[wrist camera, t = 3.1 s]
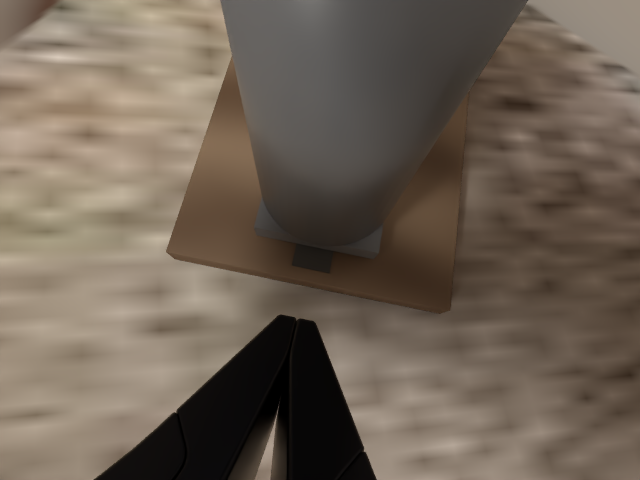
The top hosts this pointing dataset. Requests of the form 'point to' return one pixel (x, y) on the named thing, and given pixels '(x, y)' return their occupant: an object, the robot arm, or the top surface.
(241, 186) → the track mount
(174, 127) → the top surface
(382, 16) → the grey lidded canister
